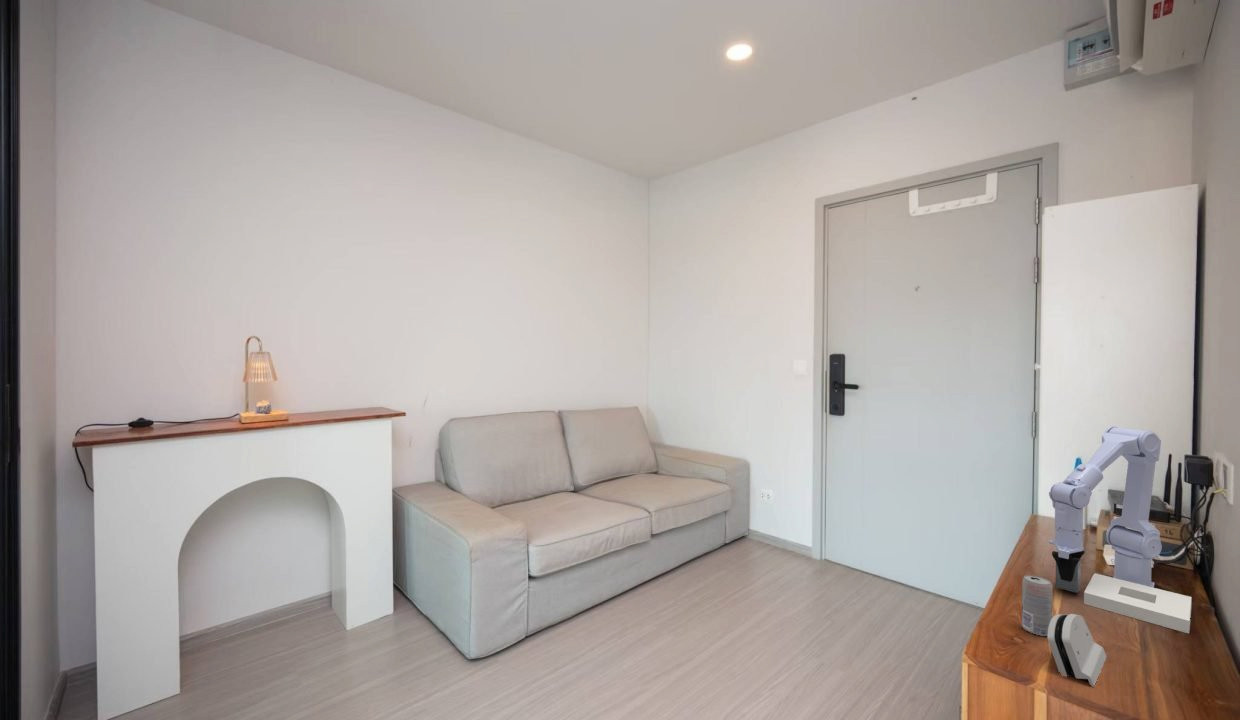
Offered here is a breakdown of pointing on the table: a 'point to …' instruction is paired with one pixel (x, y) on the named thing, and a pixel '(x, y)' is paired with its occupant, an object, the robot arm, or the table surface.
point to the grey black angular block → (1075, 648)
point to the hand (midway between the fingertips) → (1068, 577)
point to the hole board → (1139, 602)
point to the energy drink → (1036, 604)
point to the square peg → (1067, 585)
